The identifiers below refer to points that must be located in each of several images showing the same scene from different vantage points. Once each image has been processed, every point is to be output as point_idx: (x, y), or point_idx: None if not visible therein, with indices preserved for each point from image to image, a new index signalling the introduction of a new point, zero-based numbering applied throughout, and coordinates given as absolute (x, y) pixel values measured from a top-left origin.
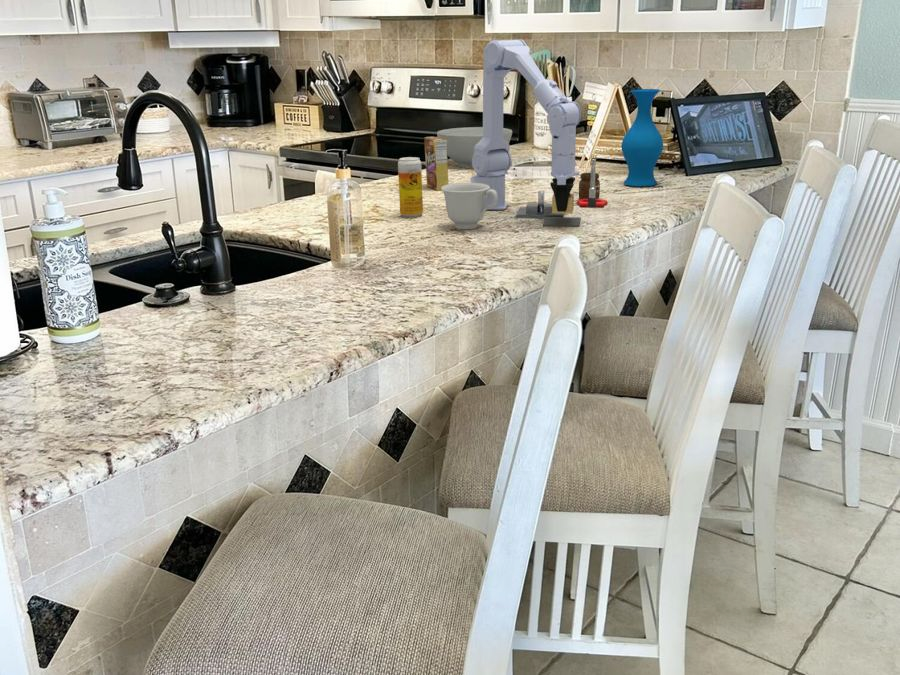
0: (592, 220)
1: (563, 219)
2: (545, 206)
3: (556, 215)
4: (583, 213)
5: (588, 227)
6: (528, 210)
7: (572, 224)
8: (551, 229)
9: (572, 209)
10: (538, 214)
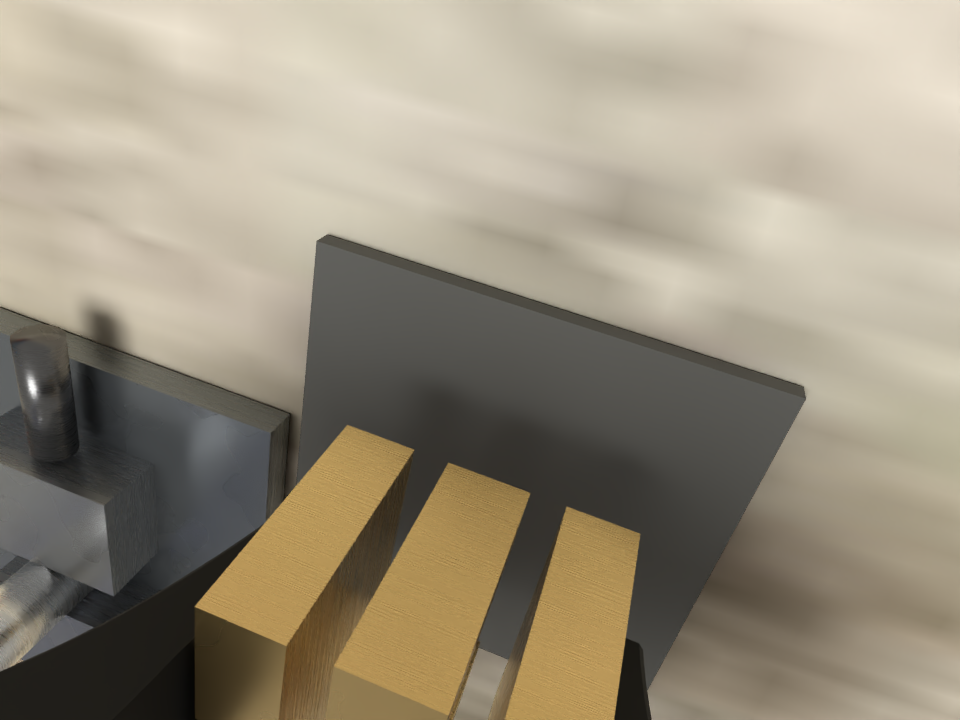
0: (421, 91)
1: (417, 463)
2: (109, 581)
3: (269, 488)
4: (17, 110)
5: (895, 279)
6: None
7: (731, 466)
8: (820, 688)
9: (608, 568)
10: None
